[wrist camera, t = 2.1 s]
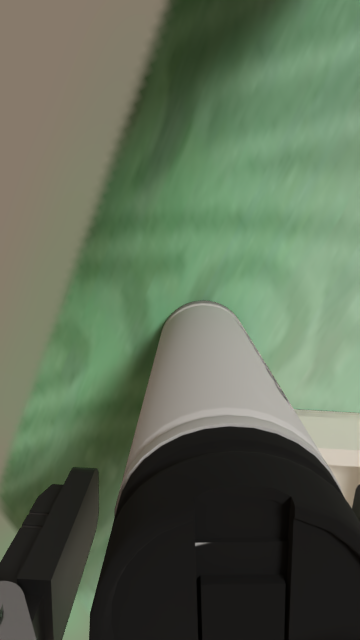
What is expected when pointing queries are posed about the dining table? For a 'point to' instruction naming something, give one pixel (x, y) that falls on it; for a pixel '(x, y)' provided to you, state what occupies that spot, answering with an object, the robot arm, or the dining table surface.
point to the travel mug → (225, 505)
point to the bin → (337, 445)
